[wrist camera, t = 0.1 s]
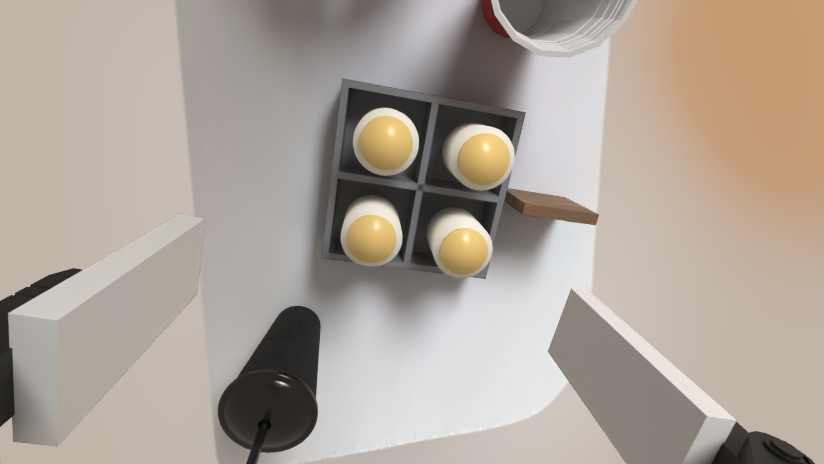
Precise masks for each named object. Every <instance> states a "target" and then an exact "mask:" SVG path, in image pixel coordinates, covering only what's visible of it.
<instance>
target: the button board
mask: <svg viewBox="0 0 824 464" xmlns="http://www.w3.org/2000/svg"><path fill="white" fill-rule="evenodd" d="M384 107H385V108H391V109H394V110H397V111H399V112H401V113H403V114H404V115H406V116H407V117H408V118H409V119H410V120H411V121H412V122H413V124H414V126H415V127H416V130H417V133H418V137H419V148H418V152H417V155H416V157H415V159H414V161H413V162H412V164H411V165H410V166H409V167H408V168H407V169H405V170H404V171H402V172H400V173H398V174H395V175H390V176H384V175H378V174H375V173H372V172H370V171H369V170H367V169H366V168H365V167H364V166H363V165H362V164H361V163H360V162H359V160H358V159H357V157H356V155H355V152H354V148H353V136H354V132H355V129H356V127H357V125H358V123H359V122H360V120H361V119H362V118H363V116H364V115H366V114H367V113H368V112H370V111H371V110H374V109H377V108H384ZM525 113H526V112H520V111H515V110H510V109H504V108H499V107H493V106H488V105H483V104H477V103H472V102H467V101H461V100H456V99H450V98H445V97H440V96H434V95H429V94H423V93H418V92H413V91H407V90H402V89H396V88H391V87H386V86H380V85H375V84H370V83H364V82H359V81H353V80H348V79H343V78H342V86H341V95H340V103H339V112H338V120H337V129H336V138H335V146H334V155H333V163H332V172H331V180H330V189H329V198H328V206H327V215H326V223H325V232H324V240H323V249H322V257H321V258H324V259H332V260H340V261H348V262H354V261H352V260H351V259H350V258H349V257H348V256H347V255H346V253H345V252H344V250H343V248H342V245H341V230H342V226H343V222H344V218H345V214H346V211H347V209H348V207H349V206H350V205H351V203H352V202H354V201H355V200H356V199H358V198H360V197H362V196H365V195H378V196H381V197H384V198H386V199H387V200H389V201H390V202H391V203H392V204H393V205H394V207H395V208H396V210H397V213H398V216H399V221H400V225H401V230H402V245H401V248H400V250H399V252H398V253H397V255H396V256H395V257H394V258H393V259H392V260H391V261H389V262H388V263H386V264H384V265H381V266H387V267H395V268H403V269H411V270H419V271H427V272H435V273H443V274H445V273H444V272H443V271H442V270H441V269H440V268H439V267H438V265H437V264H436V262H435V259H434V256H433V254H432V251H431V249H430V246H429V243H428V241H427V236H426V232H427V226H428V224H429V222H430V220H431V218H432V217H433V216H434V215H435V214H436V213H437V212H439V211H441V210H443V209H445V208H449V207H459V208H462V209H465V210H467V211H468V212H470V213H471V214H472V215H473V216H474V217H475V219H476V220H477V221H478V222H479V223H480V224H481V226H482V227H483V228H484V229H485V230H486V231H487V233H488V234H489V236H490V238H491V240H492V246H494V242H495V237H496V233H497V229H498V225H499V221H500V217H501V213H502V209H503V204H504V200H505V196H506V192H507V188H508V184H509V180H510V175H511V173H510V174H509V176H508V177H507V178H506V180H505V181H504V182H502V183H501V184H500V185H498V186H497V187H495V188H492V189H489V190H481V191H480V190H474V189H471V188H468V187H466V186H465V185H463V184H462V183H461V182H460V181H459V180H458V179H457V178H456V177H455V176H454V175H453V174H452V173H450V172H449V171H448V169H447V168H446V166H445V164H444V162H443V158H442V147H443V143H444V141H445V139H446V137H447V135H448V134H449V133H450V132H451V131H452V130H453V129H454V128H456V127H457V126H459V125H462V124H465V123H476V124H481V125H485V126H490V127H494V128H496V129H499V130H500V131H502V132H503V133H505V134H506V135H507V136H508V138H509V139H510V141H511V143H512V145H513V148H514V154H515V155H516V151H517V146H518V142H519V138H520V134H521V130H522V126H523V122H524V118H525ZM511 171H512V170H511ZM489 262H490V261H489ZM488 266H489V263H488V264H487V266H486V267H485V268H484V269H483V270H482V271H480V272H479V273H478V274H476V275H474V276H471V277H474V278H482V279H486V275H487V271H488Z"/></svg>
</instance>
